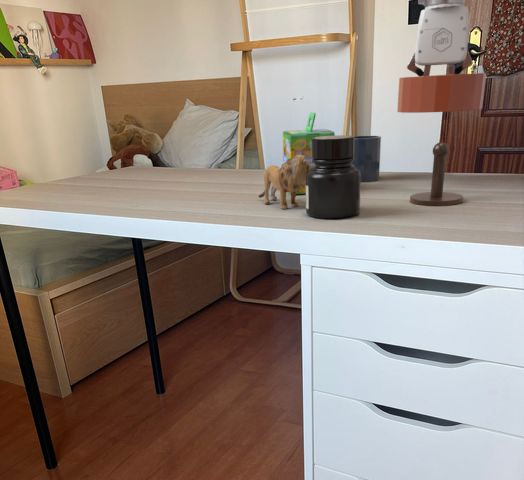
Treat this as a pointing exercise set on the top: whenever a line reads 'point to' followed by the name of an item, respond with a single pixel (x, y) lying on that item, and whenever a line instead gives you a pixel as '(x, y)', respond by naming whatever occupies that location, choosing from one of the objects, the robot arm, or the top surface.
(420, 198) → the holder post
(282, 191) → the lion figurine
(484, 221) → the top surface
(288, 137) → the green juice box
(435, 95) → the bowl
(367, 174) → the cup
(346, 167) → the ink bottle
